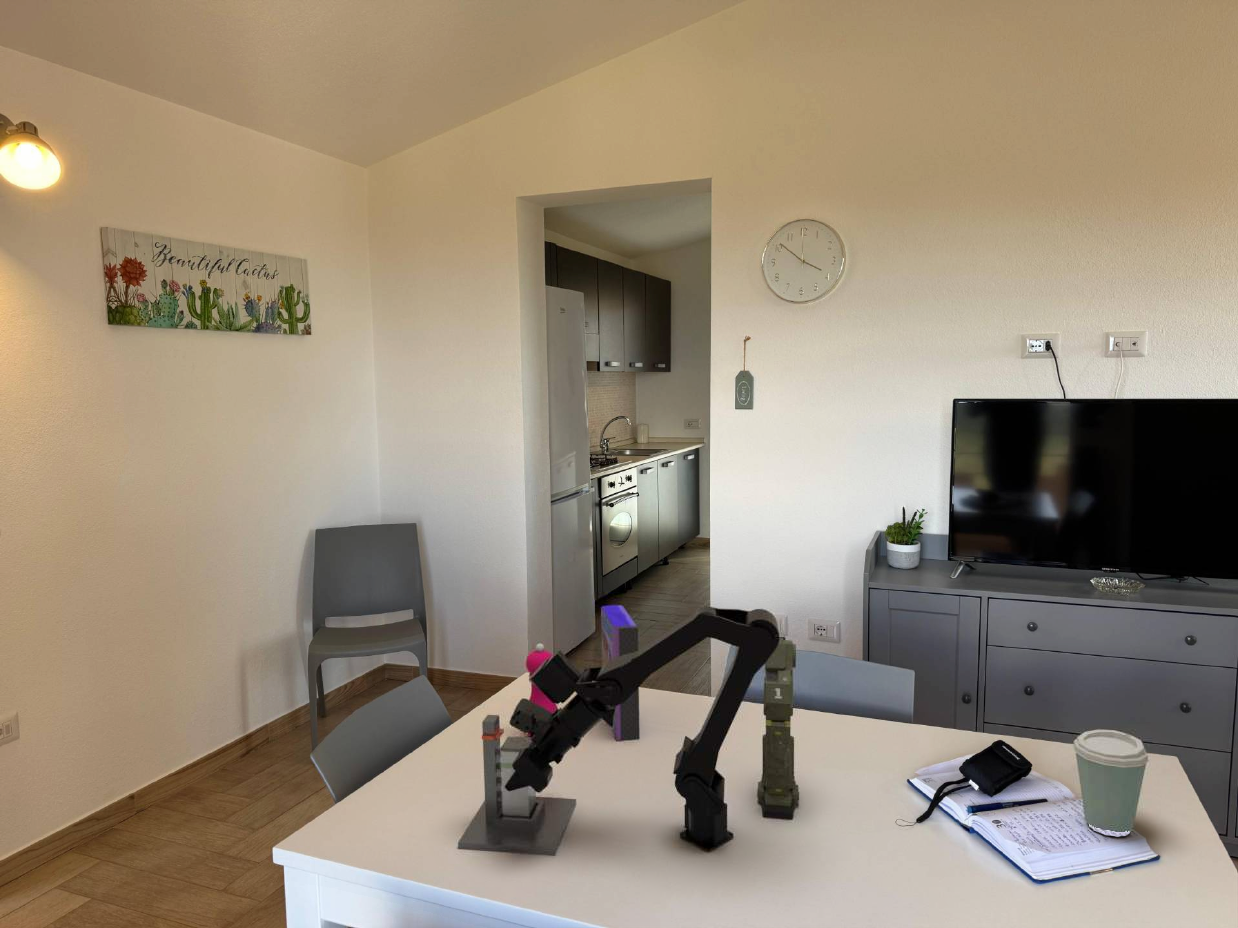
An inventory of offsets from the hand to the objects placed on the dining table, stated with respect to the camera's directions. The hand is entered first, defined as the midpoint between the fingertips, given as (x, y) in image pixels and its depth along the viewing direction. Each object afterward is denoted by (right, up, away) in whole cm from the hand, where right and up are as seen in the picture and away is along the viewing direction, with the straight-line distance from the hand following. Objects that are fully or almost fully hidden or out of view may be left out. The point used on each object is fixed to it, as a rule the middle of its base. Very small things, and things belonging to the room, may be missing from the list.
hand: (510, 781), depth 141 cm
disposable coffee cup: (+98, -6, -3) cm, 99 cm away
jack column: (+1, -6, 0) cm, 6 cm away
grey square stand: (+1, -8, +1) cm, 8 cm away
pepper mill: (+2, -4, +36) cm, 36 cm away
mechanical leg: (+46, -6, +7) cm, 47 cm away
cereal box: (+19, -3, +42) cm, 46 cm away
